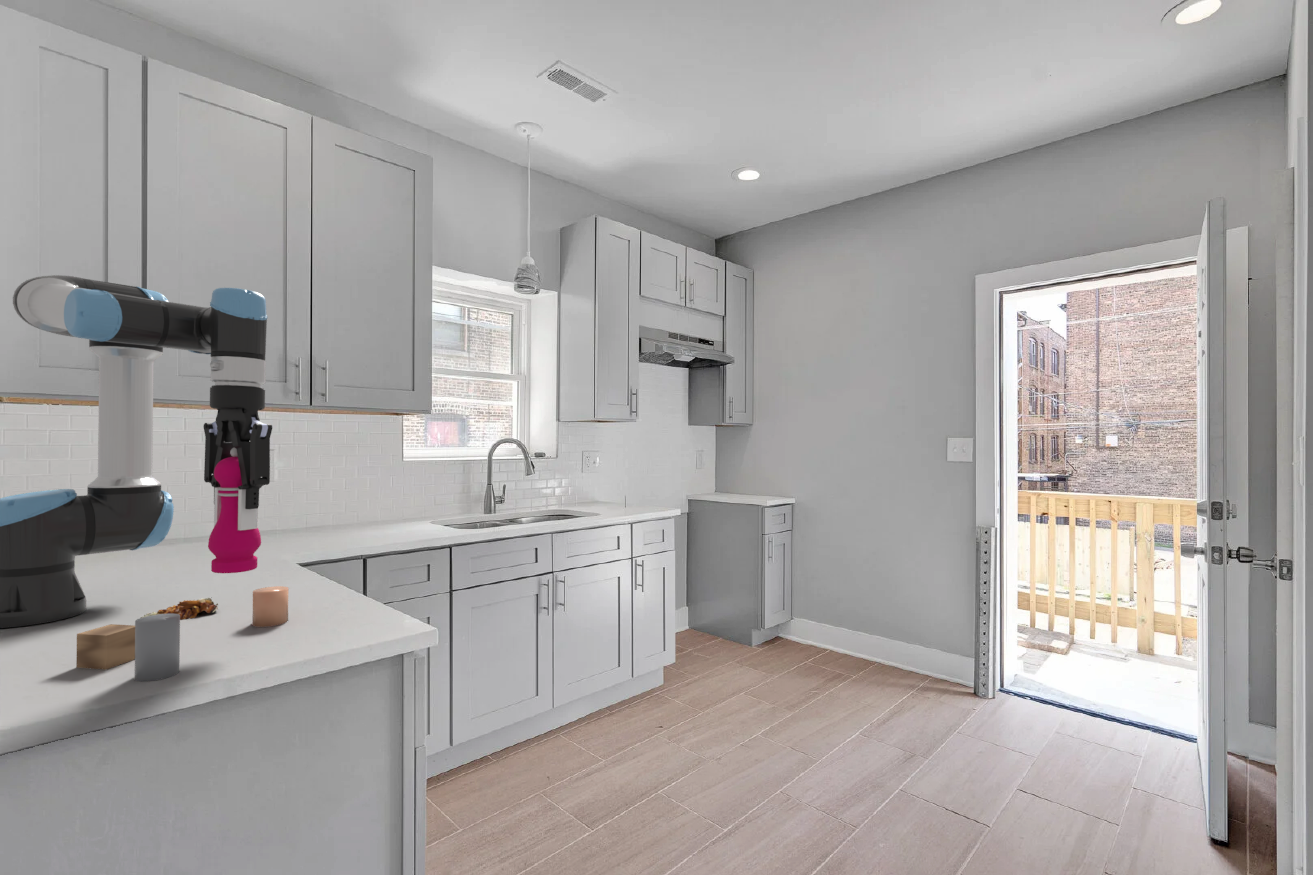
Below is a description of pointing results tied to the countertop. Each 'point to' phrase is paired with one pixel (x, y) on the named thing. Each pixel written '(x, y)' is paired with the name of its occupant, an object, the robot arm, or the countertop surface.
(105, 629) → the tan block
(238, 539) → the pepper mill
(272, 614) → the peach rounded cylinder
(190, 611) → the brown lumpy mound
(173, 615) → the grey cylinder
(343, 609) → the countertop surface
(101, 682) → the countertop surface
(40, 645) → the countertop surface
